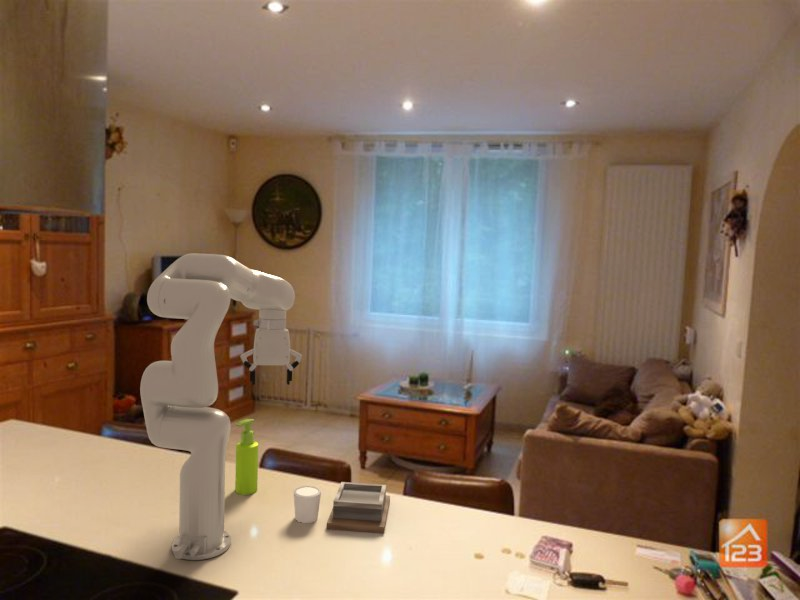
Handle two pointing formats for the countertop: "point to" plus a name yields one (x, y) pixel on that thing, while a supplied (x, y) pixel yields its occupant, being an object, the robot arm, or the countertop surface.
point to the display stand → (359, 508)
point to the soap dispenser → (246, 460)
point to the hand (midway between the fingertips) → (271, 383)
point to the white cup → (306, 503)
